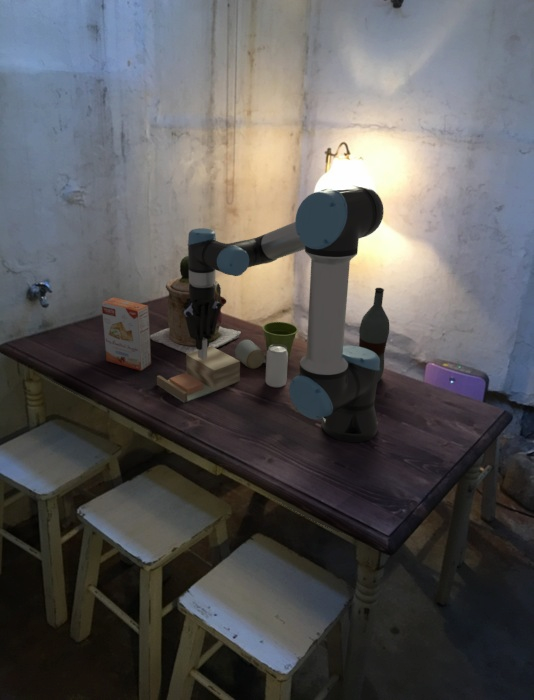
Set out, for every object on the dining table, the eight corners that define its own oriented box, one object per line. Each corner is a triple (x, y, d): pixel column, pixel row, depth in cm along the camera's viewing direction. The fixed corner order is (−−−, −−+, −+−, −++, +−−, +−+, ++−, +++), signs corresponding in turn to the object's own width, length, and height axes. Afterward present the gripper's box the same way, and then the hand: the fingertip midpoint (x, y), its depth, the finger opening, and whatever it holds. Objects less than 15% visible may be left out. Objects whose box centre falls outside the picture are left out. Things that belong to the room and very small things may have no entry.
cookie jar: (146, 340, 203) (141, 252, 190) (192, 320, 222) (191, 239, 208) (198, 359, 191) (197, 267, 177) (243, 337, 209) (245, 251, 196)
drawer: (214, 391, 172) (214, 382, 170) (184, 403, 165) (184, 393, 164) (186, 374, 181) (186, 365, 180) (157, 384, 174) (156, 376, 173)
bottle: (387, 383, 181) (400, 293, 168) (359, 385, 179) (370, 294, 166) (376, 370, 189) (388, 283, 177) (349, 371, 187) (359, 284, 175)
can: (290, 383, 178) (292, 348, 173) (276, 390, 174) (278, 354, 169) (275, 376, 182) (277, 342, 177) (261, 382, 178) (262, 347, 173)
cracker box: (105, 362, 186) (100, 301, 177) (117, 355, 191) (113, 296, 182) (140, 372, 181) (136, 310, 172) (152, 364, 186) (149, 304, 177)
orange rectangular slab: (187, 389, 167) (187, 395, 168) (203, 383, 171) (203, 389, 172) (169, 378, 173) (169, 384, 174) (185, 372, 177) (185, 378, 178)
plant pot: (290, 369, 187) (292, 337, 183) (256, 362, 191) (257, 331, 186) (300, 354, 197) (302, 324, 193) (267, 348, 201) (269, 319, 196)
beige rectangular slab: (239, 381, 178) (240, 361, 175) (214, 391, 172) (214, 370, 169) (211, 365, 187) (211, 346, 184) (186, 374, 181) (186, 354, 178)
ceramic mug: (246, 372, 184) (247, 350, 181) (233, 362, 190) (234, 341, 187) (273, 365, 190) (275, 344, 186) (260, 356, 196) (261, 335, 192)
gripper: (211, 276, 170) (211, 348, 180) (175, 284, 162) (177, 359, 172) (228, 282, 165) (227, 356, 175) (191, 291, 157) (192, 368, 167)
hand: (202, 357), depth 173 cm, fingers closed
